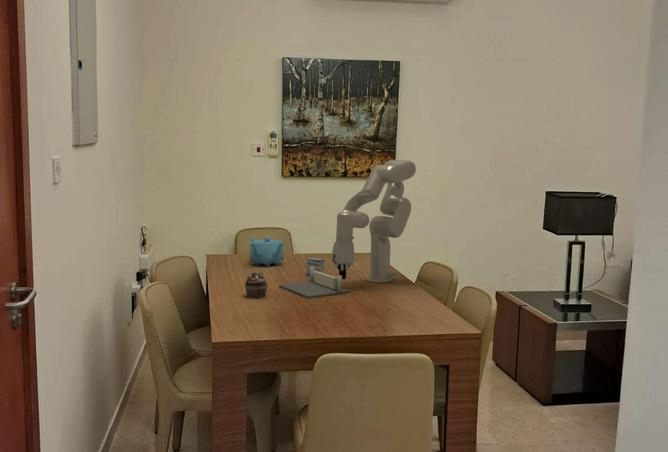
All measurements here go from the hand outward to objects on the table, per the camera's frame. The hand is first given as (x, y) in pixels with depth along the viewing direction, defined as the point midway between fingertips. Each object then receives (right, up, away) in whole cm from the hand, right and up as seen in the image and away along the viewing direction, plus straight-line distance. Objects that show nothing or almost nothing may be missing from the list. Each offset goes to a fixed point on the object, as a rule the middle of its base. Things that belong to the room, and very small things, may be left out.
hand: (342, 278), depth 295 cm
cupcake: (-37, -6, -19) cm, 42 cm away
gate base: (-13, -5, -5) cm, 15 cm away
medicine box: (-13, -1, +25) cm, 29 cm away
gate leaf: (-8, -3, -2) cm, 9 cm away
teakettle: (-41, +3, +51) cm, 65 cm away
